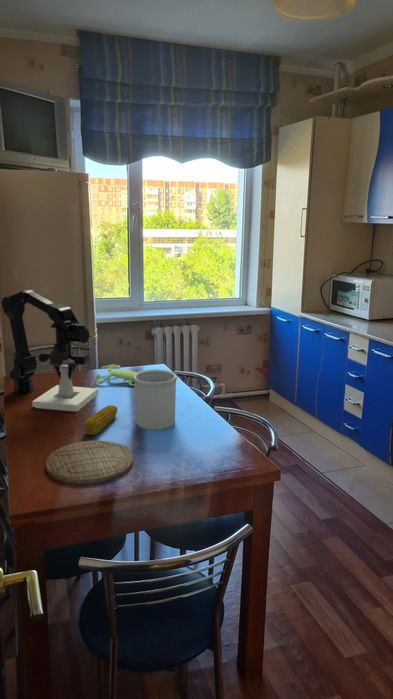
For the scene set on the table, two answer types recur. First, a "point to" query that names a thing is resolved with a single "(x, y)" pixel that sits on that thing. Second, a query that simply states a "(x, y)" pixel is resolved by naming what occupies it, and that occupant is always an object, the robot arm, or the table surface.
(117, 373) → the figurine
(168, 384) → the utensil holder
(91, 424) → the food
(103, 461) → the trivet
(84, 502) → the table surface
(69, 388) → the salt shaker
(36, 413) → the table surface
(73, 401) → the socket board
